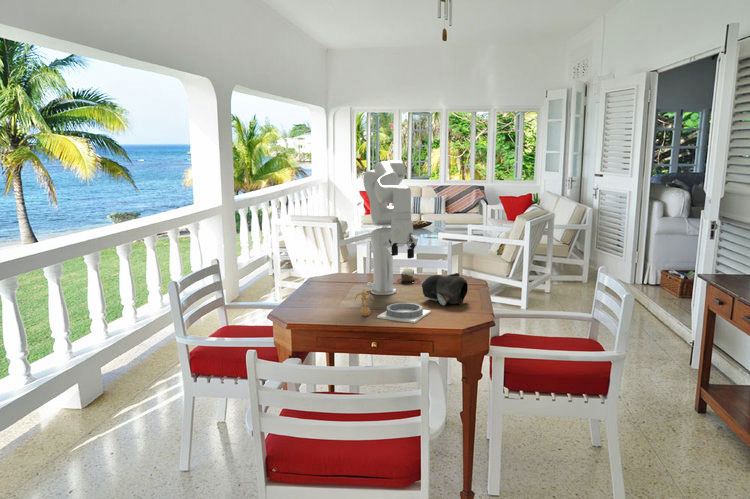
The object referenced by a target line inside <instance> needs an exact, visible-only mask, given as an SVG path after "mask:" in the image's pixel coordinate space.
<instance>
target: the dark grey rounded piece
mask: <svg viewBox="0 0 750 499" xmlns="http://www.w3.org/2000/svg"><path fill="white" fill-rule="evenodd" d="M460 275H461V274H460V272H459V273H458V272H455V273H452V274H451V273H450V274H449V275H447V276H443V275H440V274H439V275H438V274H434V275H430V276H429V277H427V278H426V279H425V280H424V281H423V282H422V284H421V288H422V294H423V297H425V298H427V299H429V300H431V301H434V302H439V304H440V305H441V306H446V305H447V304H450V305H456V304H459V305H461V306H462V305H463V302H464V300H465V297H466V296H467V294H468V290H469V289H468V281H467V280H466V279H465V278H464V277H462V276H460Z"/></svg>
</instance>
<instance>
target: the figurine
mask: <svg viewBox="0 0 750 499" xmlns="http://www.w3.org/2000/svg"><path fill="white" fill-rule="evenodd" d="M358 296H361V298H360V300H361V305H362V308H360V314H361V315H362V316H363V317H367V316H369V315H370V313H371V309H370V308H369V307H368V302H369V301H368V297H367V296H370V297H371V299H373V300H375V298H374V297H373V295H372V294H370V293H369V292H367V291H366V289H365V288H364V289H362V291H361V292H359V293H357V294H355V297H354V301H356V300H357V297H358ZM364 302H366V303H364ZM364 304H365V305H364Z"/></svg>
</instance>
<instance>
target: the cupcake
mask: <svg viewBox="0 0 750 499" xmlns="http://www.w3.org/2000/svg"><path fill="white" fill-rule="evenodd" d="M415 274H416V273H415V269H413V268H412V267H409V266H408V267H405V268H404V269H403V271H401V275H400V276H401V278H399V279H397V280H396V282H397V283H399V284H409V283H412V282H414V283H415V284H418V283H420V282H421V279H420V278H418V277H417V278H416V277H415Z"/></svg>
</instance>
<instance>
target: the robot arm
mask: <svg viewBox="0 0 750 499" xmlns="http://www.w3.org/2000/svg"><path fill="white" fill-rule="evenodd" d="M405 177H406V166H405V164H404V163H403V162H402V161H400V160H383V161H378V162H377V163H376V164H375V166H374V168H373V169H371V170H368V171H366V172H364V174H363V179H362V180H363V187H364V189H365V192H366V195H367V197H368V201H369V207H370V216H371V222H372V224H373V225H374V226H376V227H378V228H376V229H373V230H372V231H371V234H370V242H371V247H372V264H373V265H372V266H373V267H372V268H373V271H372V272H373V282H367V283H366V286H367V287H368V288H371V289H370V293H371V295H372V294H373V295H377V296H387V295H389V296H390V295H394V294H396V293H397V288H395V287H394V261H393V260H394V256H398V255H399V248H402V247H405V246H406V247H407V251H406V252H407V256H406V257H407V259H414V258H415V248H416V246H418V242H419V239H418V238H417V237H416V236H415V234H414V225H413V220H412V189H411V187H410V186H407V185H403V184H401V182H402V181H403V180H404V179H405ZM400 184H401V185H400ZM388 204H392V205H391V206H390V205H388ZM388 248H391V252H390V250H388Z"/></svg>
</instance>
